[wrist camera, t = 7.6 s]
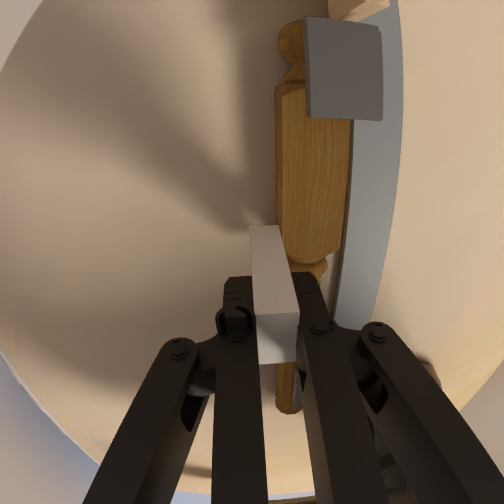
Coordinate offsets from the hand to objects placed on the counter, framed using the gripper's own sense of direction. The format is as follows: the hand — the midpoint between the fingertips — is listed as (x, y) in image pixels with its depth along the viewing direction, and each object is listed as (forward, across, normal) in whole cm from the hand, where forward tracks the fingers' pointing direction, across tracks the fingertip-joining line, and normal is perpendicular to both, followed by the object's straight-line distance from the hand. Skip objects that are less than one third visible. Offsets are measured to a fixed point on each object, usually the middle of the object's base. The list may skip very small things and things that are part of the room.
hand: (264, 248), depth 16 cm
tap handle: (+3, -2, +3) cm, 5 cm away
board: (+2, -4, -2) cm, 5 cm away
